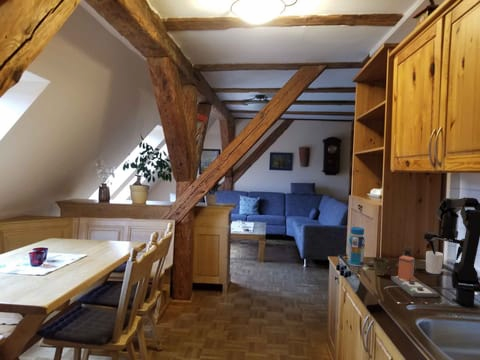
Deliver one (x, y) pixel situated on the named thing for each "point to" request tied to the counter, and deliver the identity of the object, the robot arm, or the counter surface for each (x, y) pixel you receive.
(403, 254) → the phone stand
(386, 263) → the cup
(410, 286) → the breaker panel
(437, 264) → the white cup
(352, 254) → the beverage bottle
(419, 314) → the counter surface
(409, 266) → the block
